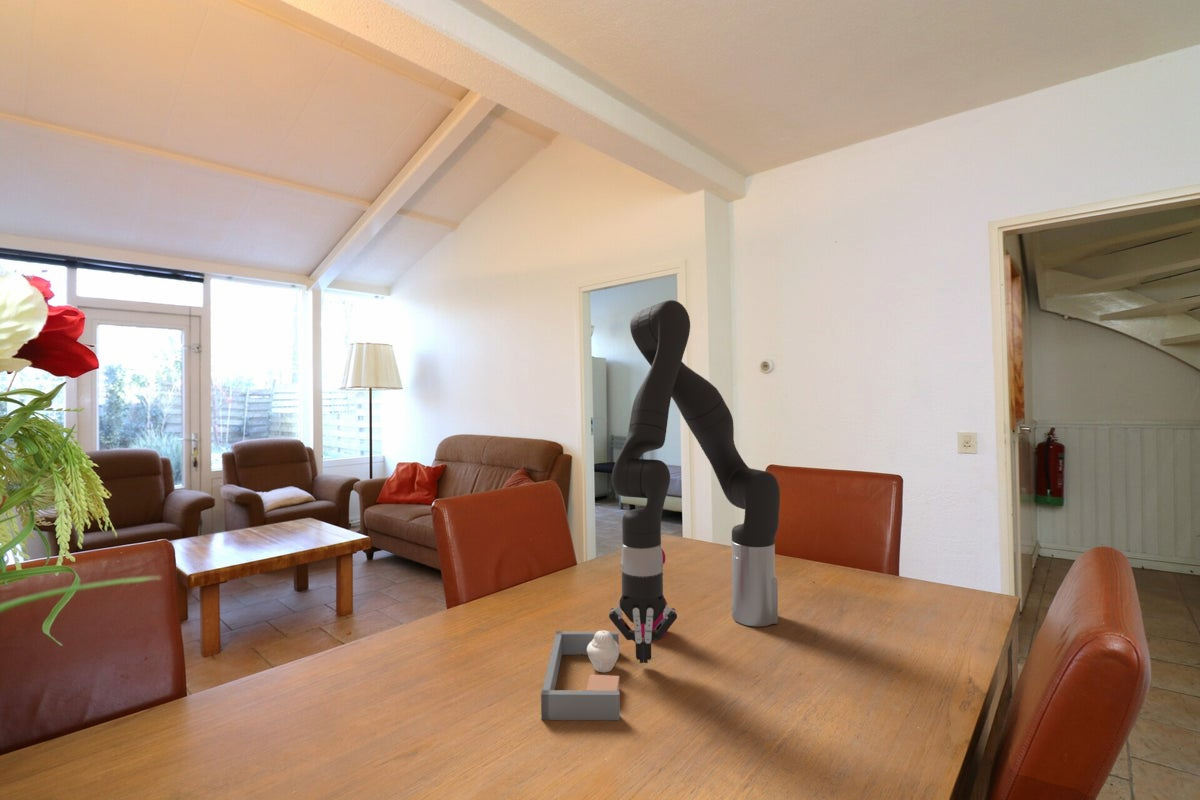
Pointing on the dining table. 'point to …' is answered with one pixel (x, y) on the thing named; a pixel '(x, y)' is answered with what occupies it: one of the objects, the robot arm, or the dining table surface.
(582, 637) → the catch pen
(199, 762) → the dining table surface
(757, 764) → the dining table surface
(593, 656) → the white rounded ceramic piece
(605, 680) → the block
